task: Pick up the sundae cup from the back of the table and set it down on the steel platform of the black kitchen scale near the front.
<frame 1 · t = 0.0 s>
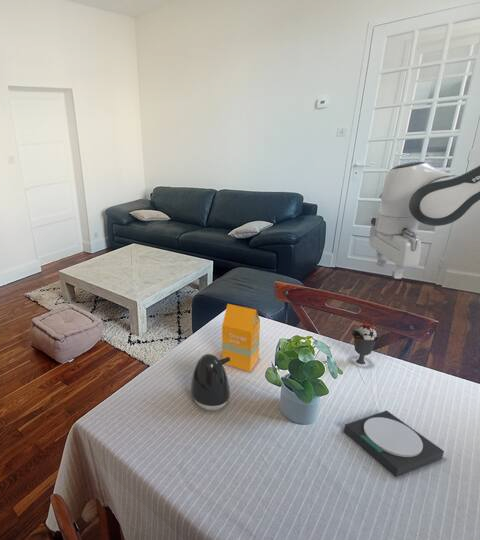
hand: (388, 271, 97), 26 cm above the table, tool pointing down, fingers open, 8 cm apart
orange juice: (240, 363, 106), on the table
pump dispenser: (210, 403, 92), on the table
sundae: (360, 364, 100), on the table
scale: (389, 447, 74), on the table
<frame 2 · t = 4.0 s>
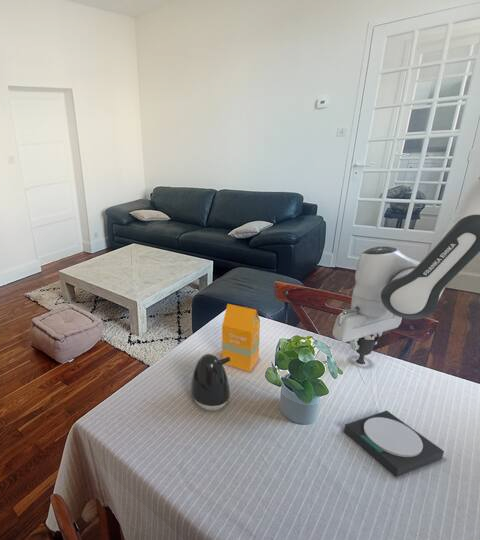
hand: (363, 346, 98), 6 cm above the table, tool pointing down, fingers closed on sundae, 5 cm apart
sundae: (360, 364, 100), on the table, touching gripper
everything else where it was.
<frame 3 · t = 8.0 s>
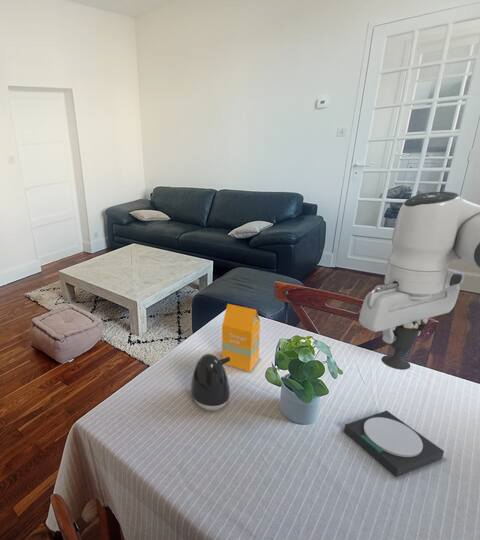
hand: (400, 338, 70), 24 cm above the table, tool pointing down, fingers closed on sundae, 5 cm apart
sundae: (395, 363, 73), point 18 cm above the table, touching gripper
everything else where it was.
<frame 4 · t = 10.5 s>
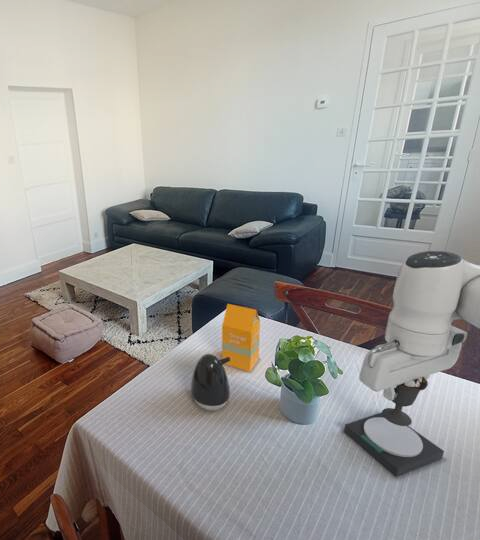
hand: (401, 393, 69), 15 cm above the table, tool pointing down, fingers closed on sundae, 5 cm apart
sundae: (396, 417, 71), point 8 cm above the table, touching gripper
everything else where it was.
when the fingers open (10 cm above the table, at t = 12.3 s): sundae stays where it is, resting on scale.
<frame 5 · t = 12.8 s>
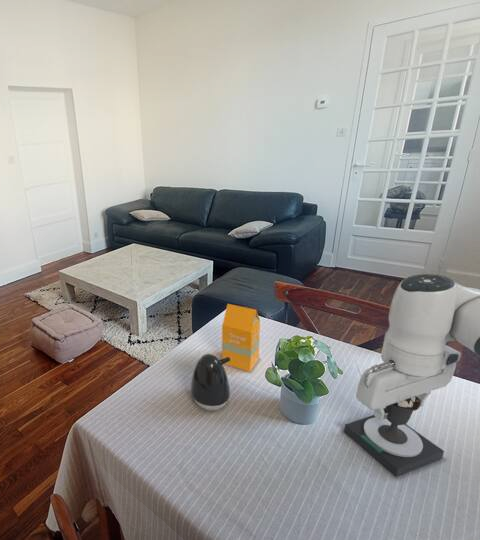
hand: (397, 411, 70), 10 cm above the table, tool pointing down, fingers open, 8 cm apart
sundae: (392, 435, 73), point 4 cm above the table, touching scale
everything else where it was.
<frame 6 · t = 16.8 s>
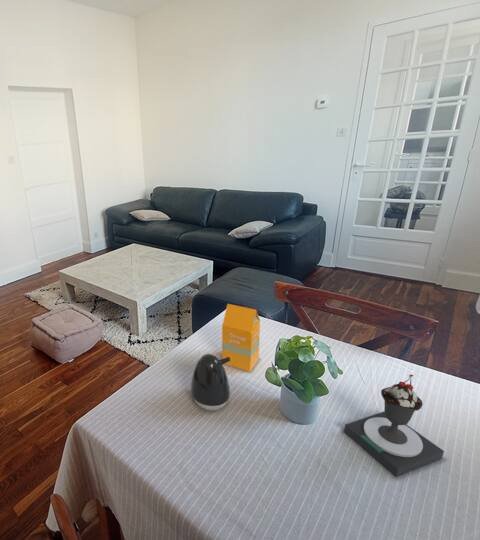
nothing on the table moved.
at the end: sundae inside the target area on the scale (0.1 cm from its centre), point 3.4 cm above the scale's base; sundae tilted 0°; the gripper is holding nothing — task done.
